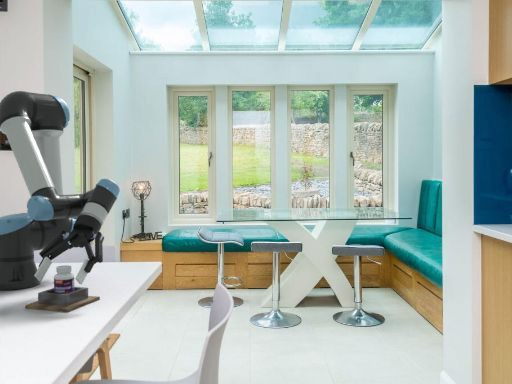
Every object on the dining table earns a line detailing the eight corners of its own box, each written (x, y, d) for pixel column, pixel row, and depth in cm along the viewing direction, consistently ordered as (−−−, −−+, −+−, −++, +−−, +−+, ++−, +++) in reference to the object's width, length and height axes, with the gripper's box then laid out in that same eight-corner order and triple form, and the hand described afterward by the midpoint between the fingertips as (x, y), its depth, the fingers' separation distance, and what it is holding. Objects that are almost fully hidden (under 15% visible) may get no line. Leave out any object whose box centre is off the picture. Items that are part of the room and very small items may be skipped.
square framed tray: (25, 308, 136) (25, 294, 136) (59, 296, 150) (59, 283, 150) (68, 312, 132) (68, 298, 132) (99, 299, 146) (99, 286, 145)
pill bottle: (53, 303, 138) (52, 268, 137) (55, 299, 143) (54, 265, 142) (73, 302, 139) (73, 267, 139) (75, 297, 144) (74, 264, 144)
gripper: (130, 230, 151) (102, 290, 137) (62, 227, 159) (28, 284, 145) (120, 214, 146) (90, 275, 132) (50, 212, 153) (14, 269, 140)
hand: (57, 280), depth 138 cm, fingers open, 13 cm apart
